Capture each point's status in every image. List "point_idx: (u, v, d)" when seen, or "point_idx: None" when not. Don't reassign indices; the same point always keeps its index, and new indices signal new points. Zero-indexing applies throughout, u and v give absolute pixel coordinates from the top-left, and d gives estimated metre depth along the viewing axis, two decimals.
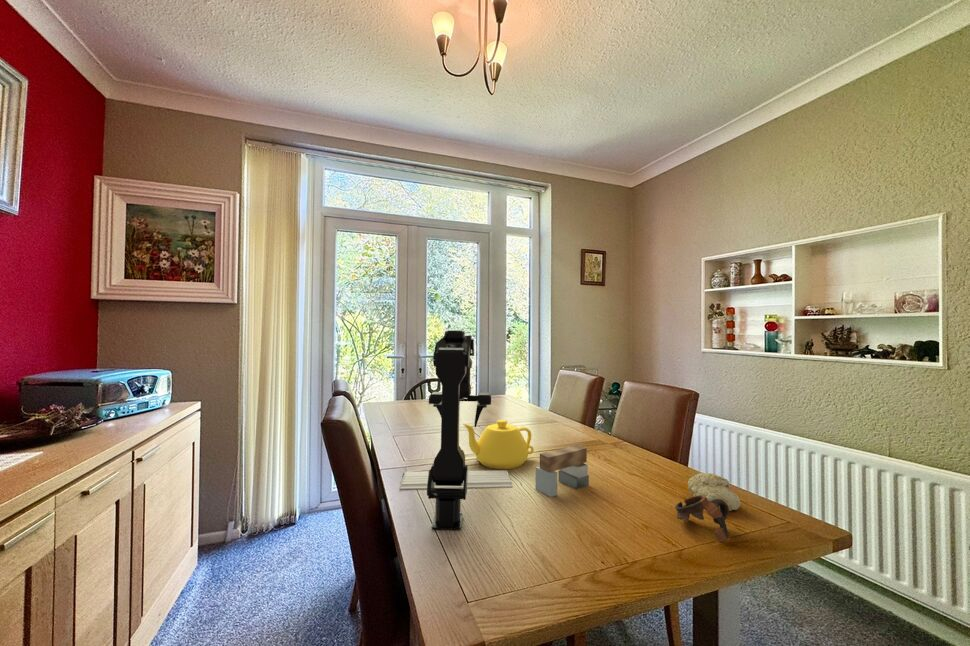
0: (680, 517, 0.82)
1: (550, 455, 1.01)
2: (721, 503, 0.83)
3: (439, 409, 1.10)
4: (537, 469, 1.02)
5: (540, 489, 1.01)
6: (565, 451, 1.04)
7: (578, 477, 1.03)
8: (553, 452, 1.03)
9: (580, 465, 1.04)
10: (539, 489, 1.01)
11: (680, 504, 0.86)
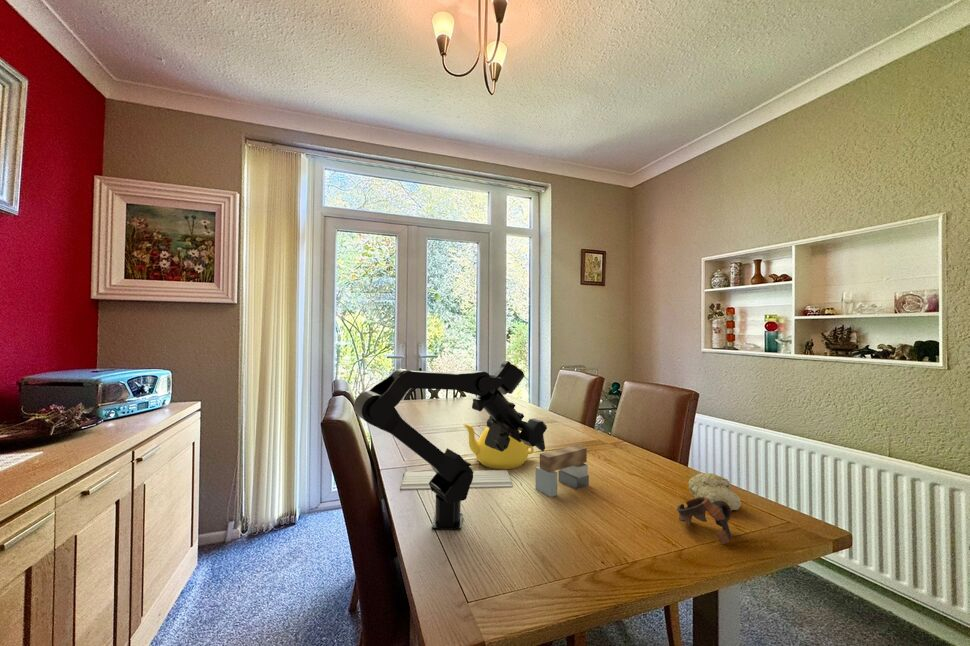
0: (682, 519, 0.81)
1: (550, 455, 1.01)
2: (723, 505, 0.82)
3: None
4: (537, 469, 1.02)
5: (540, 489, 1.01)
6: (565, 451, 1.04)
7: (578, 477, 1.03)
8: (553, 452, 1.03)
9: (580, 465, 1.04)
10: (539, 489, 1.01)
11: (682, 506, 0.85)
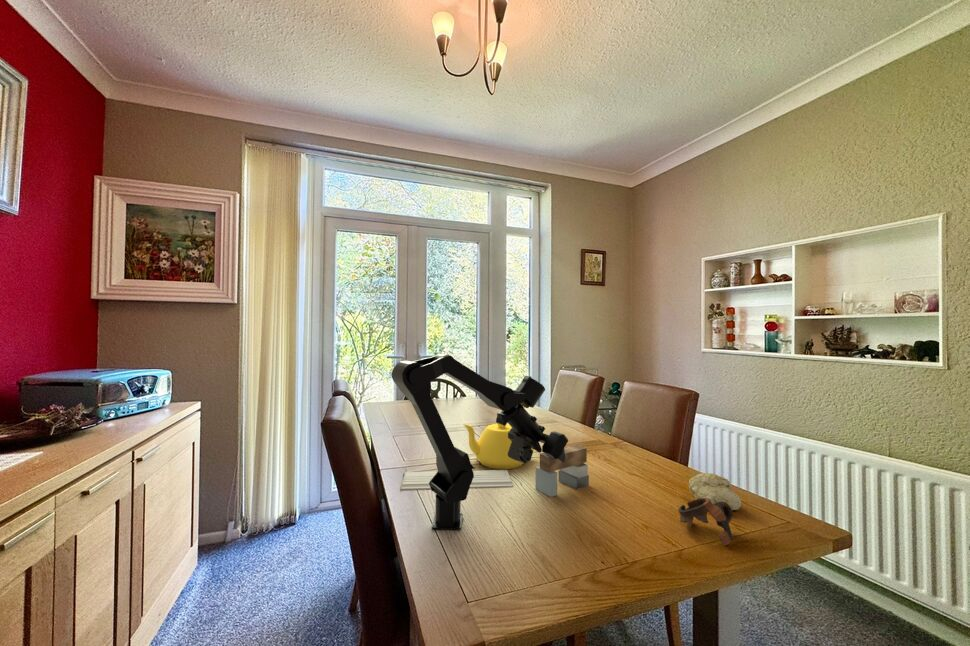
0: (683, 520, 0.80)
1: None
2: (724, 506, 0.82)
3: None
4: (537, 469, 1.02)
5: (540, 489, 1.01)
6: (565, 451, 1.04)
7: (578, 477, 1.03)
8: None
9: (580, 465, 1.04)
10: (539, 489, 1.01)
11: (683, 507, 0.84)
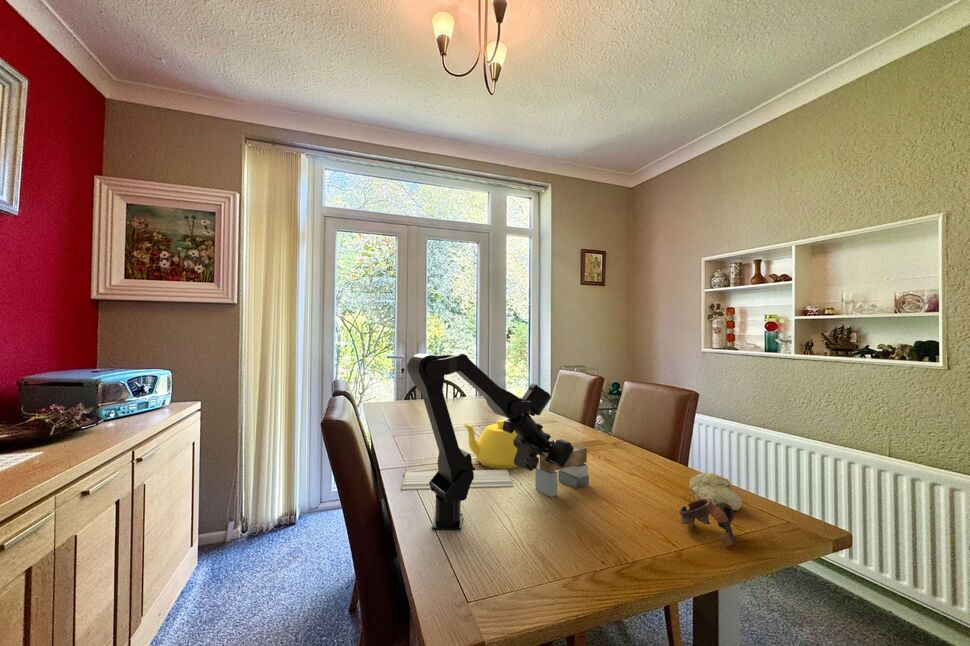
0: (685, 522, 0.80)
1: None
2: (726, 507, 0.81)
3: None
4: (537, 469, 1.02)
5: (540, 489, 1.01)
6: None
7: (578, 477, 1.03)
8: None
9: (580, 465, 1.04)
10: (539, 489, 1.01)
11: (684, 508, 0.84)
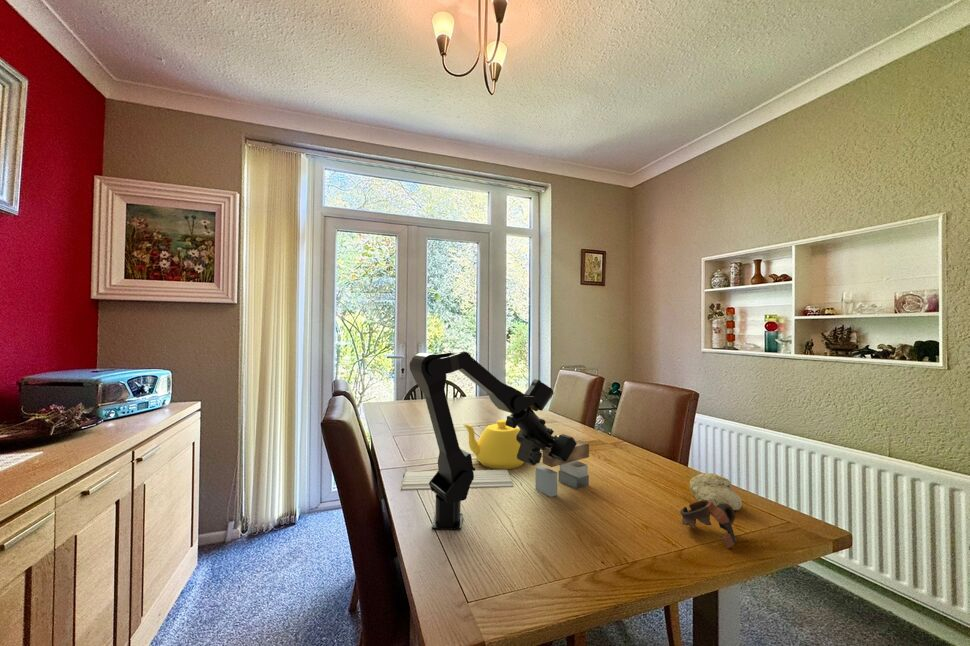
0: (686, 523, 0.79)
1: None
2: (727, 507, 0.81)
3: None
4: (537, 469, 1.02)
5: (540, 489, 1.01)
6: None
7: (578, 477, 1.03)
8: None
9: (580, 465, 1.04)
10: (539, 489, 1.01)
11: (685, 509, 0.83)
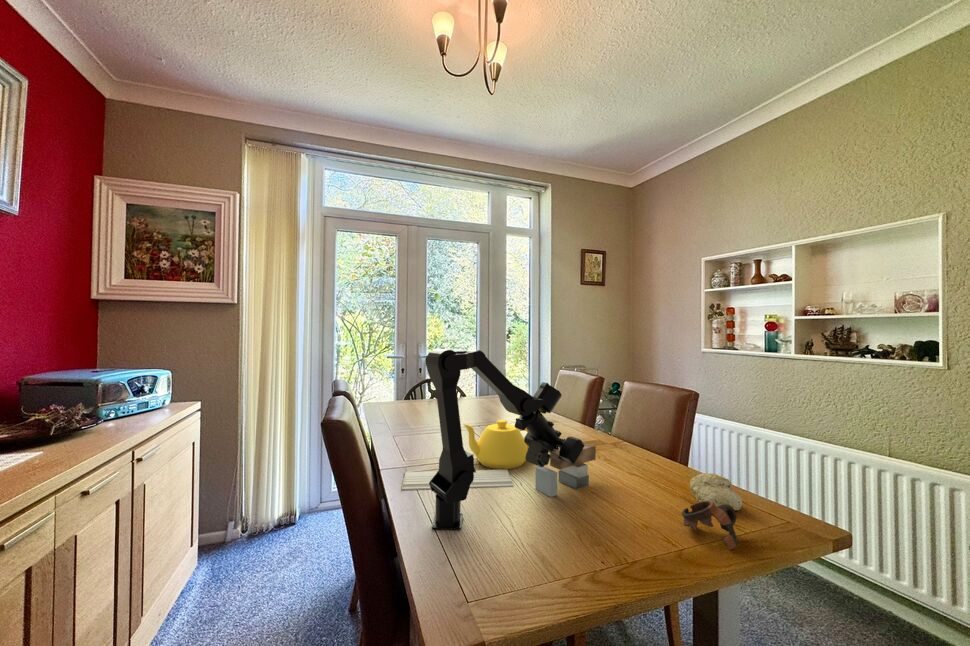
0: (687, 524, 0.79)
1: None
2: (728, 509, 0.81)
3: None
4: (537, 469, 1.02)
5: (540, 489, 1.01)
6: None
7: (578, 477, 1.03)
8: None
9: (580, 465, 1.04)
10: (539, 489, 1.01)
11: (686, 510, 0.83)
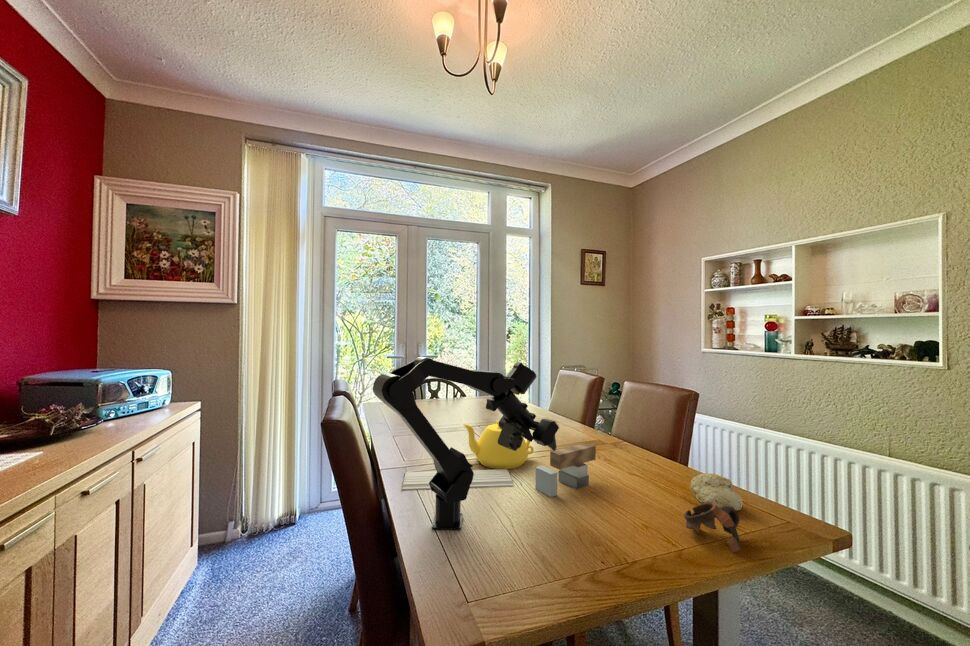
0: (690, 527, 0.78)
1: (560, 452, 1.03)
2: (731, 511, 0.80)
3: None
4: (537, 469, 1.02)
5: (540, 489, 1.01)
6: (575, 449, 1.06)
7: (578, 477, 1.03)
8: (563, 450, 1.05)
9: (580, 465, 1.04)
10: (539, 489, 1.01)
11: (689, 512, 0.82)
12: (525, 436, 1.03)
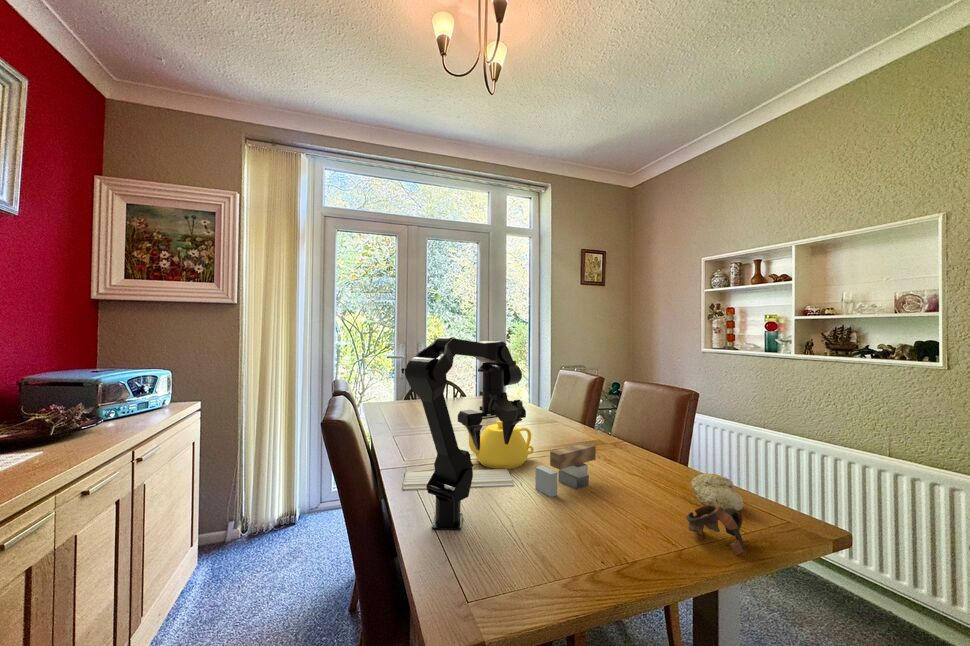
0: (693, 529, 0.77)
1: (560, 452, 1.03)
2: (734, 512, 0.79)
3: None
4: (537, 469, 1.02)
5: (540, 489, 1.01)
6: (575, 449, 1.06)
7: (578, 477, 1.03)
8: (563, 450, 1.05)
9: (580, 465, 1.04)
10: (539, 489, 1.01)
11: (691, 514, 0.81)
12: None
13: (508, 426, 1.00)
